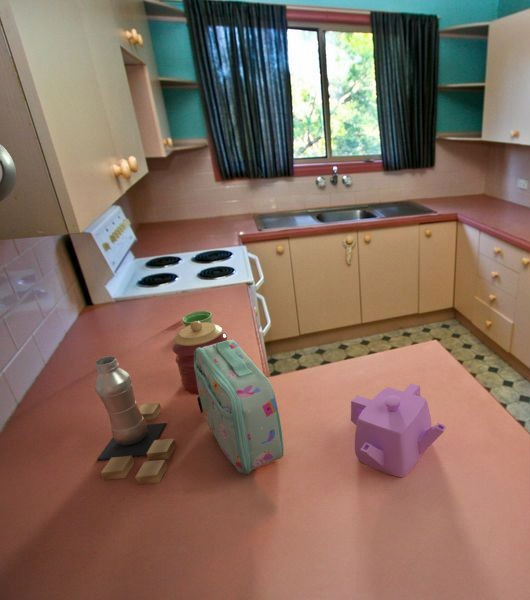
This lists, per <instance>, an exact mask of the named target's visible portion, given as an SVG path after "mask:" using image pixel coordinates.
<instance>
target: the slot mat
mask: <svg viewBox="0 0 530 600" xmlns="http://www.w3.org/2000/svg"><path fill="white" fill-rule="evenodd" d="M166 426H167V422H159V423H147V428H148V431H147V433H146V435H145V437H144V438H143V439H142V440H141V441H139V442H137V443H135V444H132V445H127V446H124V445H121V444H118V443H117V442H116V441H115V439H114V438H113V437H112V438H111V439H110V440H109V442H108V443H107V445H106V446H105V447H104V449H103V450H102V451H101V453H100V454H99V455H98V457H97V459H96V460H97V462H100V461H101V462H102V461H109V460H110V459H111V458H113V457H123V456H132V458H139V457H140V458H141V457H148V456H147V452H148V450H149V449H150V447H151V445H152V444H153V442H154V440H159V438H160V437H161V435H162V433H163V431H164V430H165V428H166Z"/></svg>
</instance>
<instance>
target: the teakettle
mask: <svg viewBox="0 0 530 600" xmlns="http://www.w3.org/2000/svg"><path fill="white" fill-rule="evenodd" d="M350 421H351V422H352V423H353V424H354V425H355V427H356V428H355V434H354V454H355V457H356V458H357V460H358V462H360V463H361V464H363V465H364V466H365V465H366V466H367V467H370V468H373V469H375V470H377V471H380V472H383V473H385V474H388V475H391V476H394V477H396V478H405V477H406V476H407V475H408V474H409V473H410V472H411V471H412V470H413V469H414V468H415V466H416V465H417V464H418V463H419V461H420V459H421V458H422V457H423V455H424V452H426V451H427V450H428V449H429V448H430V446H432V445H433V444H434V442H435V441H436V440H437V439H438V438H439V437H440V436H441V435H442V434H443V433H444V432H445V430H446V429H447V426H446V425H443V424H442V423H439V422H437V423H436V424H434V425H432V417H431V412H430V408H429V403H428V401H427V399H426V398H425V397H422V396H421V386H420V385H418V384H415V383H410V384H409V385H407V387H406V388H405V389H404V390H400V389H396V388H391V387H385V388H383V389H381V390H380V391H379V392H378V393H377V394H376V395H375V396H374V397H373V398H371V399H370V398H368V397H364V396H360V395H356V396H354V398H353V399H352V400H351V401H350Z"/></svg>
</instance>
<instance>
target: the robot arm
mask: <svg viewBox="0 0 530 600" xmlns="http://www.w3.org/2000/svg"><path fill="white" fill-rule="evenodd" d="M16 183H17V169H16V165H15V161H14V160H13V158H12V156H11V154H10V153H9V152H8V151H7V149H6V148H5V147H4V146H3V145H2V144H1V143H0V202H3V201H4V200H5V199H7V198H8V197H9V196H10V195H11V193H12V192H13V190H14V188H15V186H16Z"/></svg>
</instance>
